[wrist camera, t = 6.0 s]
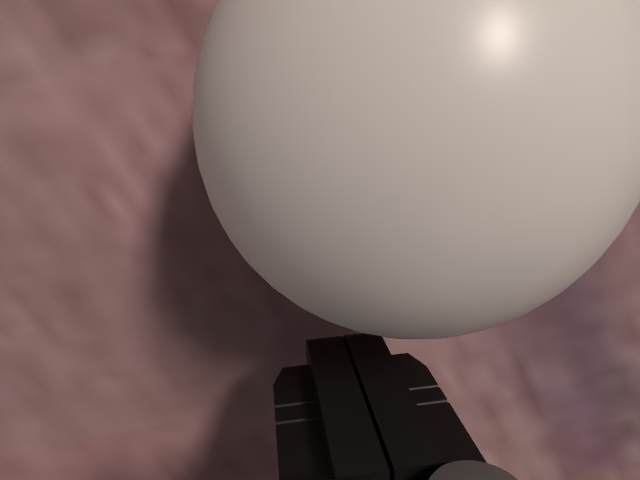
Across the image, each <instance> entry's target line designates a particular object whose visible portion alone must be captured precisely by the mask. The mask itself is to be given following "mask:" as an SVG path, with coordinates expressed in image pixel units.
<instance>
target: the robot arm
mask: <svg viewBox="0 0 640 480" xmlns="http://www.w3.org/2000/svg"><path fill="white" fill-rule="evenodd" d="M306 357H307V365H303V366H294V367H286V368H283V369H282V370H281V372H280V374H279V376H278V378H277V379H276V381H275V383H274V385H273V389H274V404H275V419H276V435H277V450H278V465H279V480H518V479H516V478H515V477H514V476H512V475H511V474H509V473H508V472H506V471H505V470H503V469H501V468H499V467H496V466H494V465H491V464H488V463H486V461H485V459H484V458H483V456H482V455H481V453H480V451H479V450H478V448H477V446H476V445H475V443H474V442H473V440H472V438H471V437H470V435H469V434H468V432H467V430H466V429H465V427H464V426H463V424H462V422H461V421H460V419H459V418H458V416H457V414H456V413H455V411H454V410H453V408H452V406H451V405H450V403H447V398H446V397H445V395H444V393H443V392H442V390H441V389H440V387H439V388H438V384H437V382H436V381H435V379H434V377H433V376H432V374H431V373H430V371H429V369H428V368H427V366H425V365H424V364H423V363H421V362H420V361H418V360H417V359H415V358H414V357H413V356H411V355H410V354H408V353H404V354H395V355H391V353H390V351H389V349H388V347H387V345H386V344H385V342H384V340H383V338H382V336H377V335H371V334H365V333H362V334H353V335H344V336H343V338H342V336H336V337H327V338H318V339H309V340H306Z"/></svg>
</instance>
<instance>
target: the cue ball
mask: <svg viewBox="0 0 640 480" xmlns="http://www.w3.org/2000/svg"><path fill="white" fill-rule="evenodd" d="M192 126H193V135H194V143H195V150H196V156H197V162H198V167H199V170H200V173H201V176H202V179H203V182H204V185H205V188H206V191H207V194H208V197H209V200H210V203H211V206H212V208H213V210H214V212H215V214H216V215H217V217H218V219H219V221H220V223H221V225H222V227H223V229H224V230H225V232H226V234H227V235H228V237H229V239H230V240H231V242H232V243H233V244H234V246H235V247H236V248H237V250H238V251H239V252H240V254H241V255H242V256H243V258H244V259H245V260H246V262H247V263H248V264H249V265H250V266H251V267H252V268H253V269H254V270H255V271H256V272H257V273H258V274H259V275H260V276H261V277H262V278H263V279H264V280H265V281H266V282H267V283H268V284H269V285H270V286H271V287H273V288H274V289H275V290H277V291H278V292H279V293H281V294H282V295H284V296H285V297H286V298H288V299H289V300H291V301H292V302H293V303H295V304H296V305H298V306H299V307H301V308H302V309H304V310H306V311H308V312H310V313H312V314H314V315H316V316H318V317H320V318H322V319H324V320H326V321H328V322H331V323H333V324H336V325H339V326H342V327H345V328H348V329H351V330H354V331H357V332H361V333H365V334H371V335H377V336H383V337H389V338H396V339H439V338H448V337H454V336H460V335H465V334H469V333H473V332H477V331H481V330H484V329H488V328H491V327H494V326H497V325H500V324H503V323H506V322H508V321H511V320H513V319H515V318H518V317H520V316H522V315H524V314H526V313H528V312H530V311H531V310H533V309H535V308H537V307H538V306H540V305H542V304H543V303H545V302H547V301H548V300H550V299H552V298H553V297H555V296H556V295H558V294H559V293H561V292H562V291H564V290H565V289H566V288H567V287H569V286H570V285H571V284H572V283H573V282H574V281H576V280H577V279H578V278H579V277H580V276H581V275H583V274H584V273H585V272H586V271H587V270H588V269H589V268H590V267H592V266H593V265H594V264H595V263H596V262H597V260H598V259H599V258H600V257H601V256H602V254H603V253H604V252H605V251H606V250H607V248H608V247H609V246H610V245H611V244H612V243H613V241H614V240H615V239H616V238H617V236H618V235H619V234H620V233H621V232H622V230H623V228H624V227H625V225H626V223H627V222H628V220H629V218H630V217H631V215H632V213H633V212H634V210H635V208H636V207H637V205H638V203H639V201H640V0H218V2H217V4H216V6H215V8H214V11H213V13H212V15H211V18H210V20H209V22H208V25H207V27H206V29H205V33H204V37H203V41H202V45H201V49H200V52H199V57H198V61H197V66H196V71H195V75H194V86H193V99H192Z"/></svg>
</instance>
